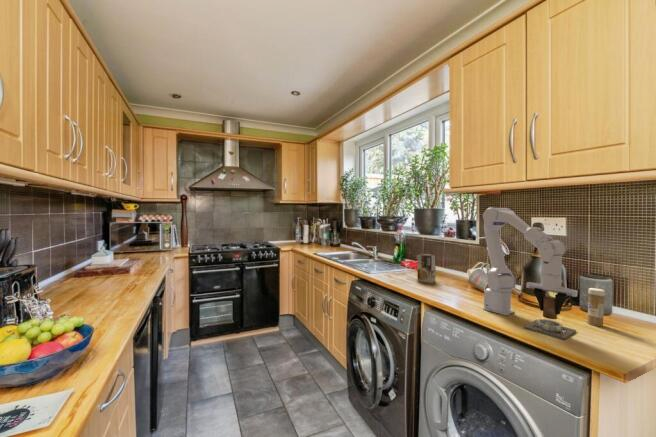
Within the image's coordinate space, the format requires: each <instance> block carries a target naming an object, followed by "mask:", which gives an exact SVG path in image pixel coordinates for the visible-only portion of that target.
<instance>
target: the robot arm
mask: <svg viewBox="0 0 656 437" xmlns="http://www.w3.org/2000/svg"><path fill="white" fill-rule="evenodd" d="M482 219H483V231H484V238H485V243H486V246H487V253H488V257H489V262H490V263H489V264H490V267H491V268H490V269H489V270H488V271H487V279H486V283H487V286H488V287H487V288H485V290H484V292H483V293H484V294H483V308H482V309H483V310H485V311H489V312H491V313H492V312H493V313H496V314H499V315H504V316H509V315H511V314H514V313H516V312H515V310H512V308H511V307H512V306H511V304H512V292H513V289H514V288H515V287H516V284H517V282H516V278H515V277H514V275H513V271H512V270H511V269H510V268H508V267H507V265H506V261H505V259H506V258H505V255H504V250H503V246H502V240H501V236H500V233H499V232H500V229H501V228H502V227H504V226H505V225H506V224H509V225H510V226H512V227H513V228H515V229H517V231H519V232H520V233H522V234H523V237H524V239H525V240H526V241H527V242H529V243H530V244H531V245H533V246H534V247H535V248H536V249H537V253H538V254H539V255H540V260H541V264H540V265H541V266H540V268H541V269H540V271H541V272H540V283H539V282H531V281H528V282H526V284H525V286H526V287H525V288H527V289H533V290H532V293H533V295H534V296H535V298H536V300H537V303H538V306H539V311H542V312H543V297H544V296H546V292H549V293H555V295H554V296H555V298H556V314H557V316H558V315H560V314H561V311H562V309H563V305H564V304H565V302H566V300H567V298H569V296H571V297H573V298H577V297H578V290H576V289H572V288H568V287H563V286H562V268H563V267H562V264H563V261H562V260H563V256H564V255H565V254H566V251H567V247H566V245H565V243H564V242H563V240H559V239H554V237H553V236H551V235H548V234H547V233H545V231H543V229H542V228H541V227H537V226H532V227H531V226H530V225H529V224H528V223H526V222H525V221H524V220H523V219H522V218H520V216H518V215H517V214H516V213H515V211H513V210H511V209H510V208H509V207H493V206H492V207H487V208H486V210H485V211H484V212H483V214H482Z"/></svg>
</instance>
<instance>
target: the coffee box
mask: <svg viewBox="0 0 656 437" xmlns="http://www.w3.org/2000/svg"><path fill="white" fill-rule="evenodd" d="M436 256H437V255H436V254H428V253H426V254H425V253H420V254H417V279H416V280H417V282H422V283H430V284H433V283H435V282H436V278H437V277H436V276H437V275H436V273H437V270H436V268H437V262H436V260H437V258H436Z"/></svg>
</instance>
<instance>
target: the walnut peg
mask: <svg viewBox="0 0 656 437" xmlns="http://www.w3.org/2000/svg"><path fill="white" fill-rule="evenodd" d="M542 317H543V318H545V319H547V320H558V314H556V298H555V297H554V296H549V295H547V296H546V295H545V296H544V297H543V311H542Z"/></svg>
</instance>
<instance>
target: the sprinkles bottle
mask: <svg viewBox="0 0 656 437" xmlns="http://www.w3.org/2000/svg"><path fill="white" fill-rule="evenodd" d="M587 290H588V291H587V294H588V303H587V305H588V307H587V321H586V323H588V324H589V325H590V326H594V327H603V326H604V316H605V315H604V314H605V313H604V312H605V310H604V309H605V295H606V292H605V289H602V288H597V287H596V288H595V287H590V288H588V289H587Z"/></svg>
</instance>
